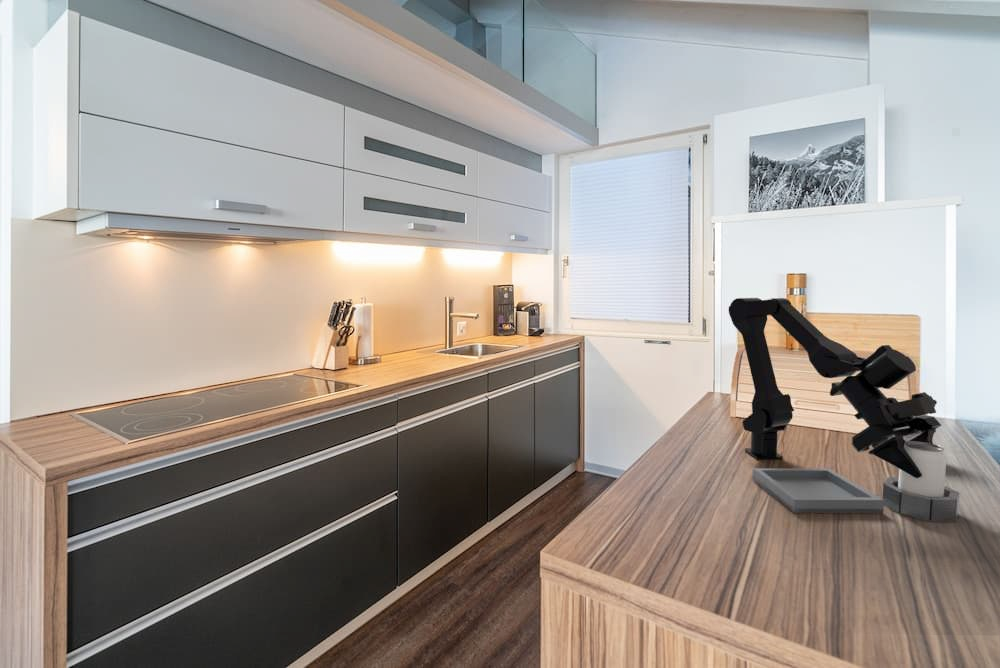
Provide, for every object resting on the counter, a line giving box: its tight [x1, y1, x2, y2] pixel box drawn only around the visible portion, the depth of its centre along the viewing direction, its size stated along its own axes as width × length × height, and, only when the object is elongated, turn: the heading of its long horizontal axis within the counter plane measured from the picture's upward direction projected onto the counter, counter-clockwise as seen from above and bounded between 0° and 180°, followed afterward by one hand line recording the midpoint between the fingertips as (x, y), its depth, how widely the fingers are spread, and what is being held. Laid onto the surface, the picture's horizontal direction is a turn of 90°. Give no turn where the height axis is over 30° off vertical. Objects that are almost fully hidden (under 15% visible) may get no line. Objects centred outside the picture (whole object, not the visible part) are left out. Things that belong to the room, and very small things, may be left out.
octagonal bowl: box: [882, 476, 961, 523], centre depth 93 cm, size 10×10×4 cm
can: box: [898, 441, 947, 497], centre depth 93 cm, size 6×6×12 cm
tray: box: [752, 467, 884, 514], centre depth 100 cm, size 16×16×2 cm
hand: (930, 474), depth 91 cm, fingers closed on can, 6 cm apart
